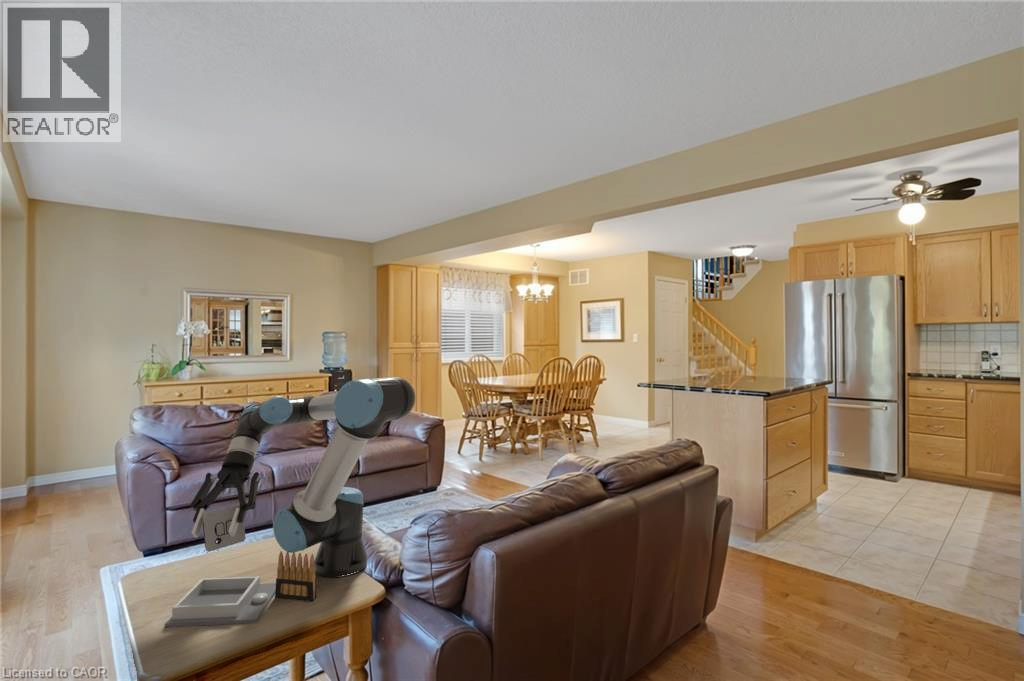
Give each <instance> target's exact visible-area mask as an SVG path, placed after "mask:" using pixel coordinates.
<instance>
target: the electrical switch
mask: <svg viewBox="0 0 1024 681" xmlns="http://www.w3.org/2000/svg"><path fill="white" fill-rule="evenodd" d="M236 508H240V506H239V505H236V506H231V507H227V508H224V509H220V510H216V511H212V512H207V513H206V514H204V515H203V518H202V521H203V526H202V529H203V539H204V548H205V551H207V552H213V551H216V550H220V549H222V548H227V547H229V546H233V545H237V544H239V543H242V542H245V541H246V539H247V538H246V530H245V522H244V520H243V522H242V523H239V524H238V527H237V530H236V534H235V537H231V535H230V534H229V533H228V531H229V528H230V525H231V522H232V519H233V516H234V513H235V510H236Z"/></svg>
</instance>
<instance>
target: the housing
mask: <svg viewBox="0 0 1024 681" xmlns="http://www.w3.org/2000/svg"><path fill="white" fill-rule="evenodd" d="M275 589H276V582H274V583H273V582H272V583H271V582H270V583H261V576H257V575H256V576H234V577H233V576H232V577H206V578H205V577H204V578H200V580H199V581H197V582H196V584H194V585H193V587H192V588H190V590H188V591H187V592H186V593H185V595H184V596H182V598H180V599H179V600H178V601H177V603H175V604H174V606H172V607H171V608H172V609H171V610H172V614H171V617H170V618H169V619H168V620H167V621H166V622H165V623H164V628H171V627H172V628H174V627H192V626H193V627H194V626H195V627H196V626H215V625H216V626H217V625H233V624H235V625H236V624H238V625H239V624H255V623H257V622H258V621H259V619H260V617H261V616H262V614H263V612H264V611H265V610H266V608H267V607H268V605H269V604H270V602H271V601H272V599H273V597H275Z"/></svg>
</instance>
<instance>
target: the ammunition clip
mask: <svg viewBox="0 0 1024 681" xmlns="http://www.w3.org/2000/svg"><path fill="white" fill-rule="evenodd" d="M277 560H278V562H277V564H278V565H277V568H276V572H277V573H276V574H277V576H276V578H275V583H276V589H275V594H274V598H275V599H282V600H293V601H298V602H299V601H302V602H309V603H310V602H311V603H312V602H314V601H315V600H316V599H317V578H316V572H315V556H314V554H313V553H312V554H311V555H310V558H309V555H308V553H305V555H303V557H302V553H301V552H299V553H298V555H297V556H296V552H295V553H294V552H293V553H291V559H290V553H289V552H286V553H285V556H284V555H283V551H282V550H280V551H279V554H278V559H277Z"/></svg>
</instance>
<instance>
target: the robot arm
mask: <svg viewBox="0 0 1024 681" xmlns="http://www.w3.org/2000/svg"><path fill="white" fill-rule="evenodd" d="M415 404H416V392H415V389H414V388H413V386H412V385H411V383H410V382H408V380H406V379H404V378H402V377H398V376H388V377H386V376H385V377H374V378H368V377H367V378H366V377H363V378H359V379H355V380H354V379H353V380H350V381H348V382H347V383H345V384H343V385H342V386H341V387H340V388H339V390H338V391H337V392H336V393H330V394H323V395H317V396H316V395H315V396H309V397H301V398H293V399H288V398H286V397H283V396H281V395H275V396H272V397H271V398H269V399H266V400H265V401H264V402H263V403H262V404H260V405H259V406H252V407H247V408H245V409H243V411H242V413H241V414H240V416H239V418H238V420H237V421H238V422H237V423H236V427H235V430H234V433H233V435H232V438H231V442H230V443H229V446H228V448H227V451H226V454H225V457H224V459H223V461H222V464H221V469H220V470H219V471H218V472H217V473H213V474H212V473H211V472H207V473H206V474H205V479H204V481H203V482H202V485H201V486H200V488H199V489H198V491H197V493H196V495H195V496H194V498H193V500H192V501H191V503H190V507H191V509H192V510H193V511H195V514H194V517H193V519H192V522H193V523H194V525H193V528H192V530H191V535H192V536H193V538H197V539H198V538H199V536H200V534H201V531H202V529H203V521H202V518H203V515H204V514H206V513H208V512H207V510H208V508H209V507H210V506H211V505H212V503H214V502H215V500H216V499H217V498H218V497H219V496H220V494H221V493H224V491H225V490H226V489H231V488H232V489H236V491H237V496H238V497H237V498H238V502H239V505H238V506H240V508H236V510H235V513H234V516H233V519H232V522H231V525H230V528H229V531H228V533H229V534H230V535H231V537H235V534H236V530H237V527H238V524H239V523H242V522H243V520H244V519H245V517H246V513H247V511H250V510H255V508H256V504H257V495H258V485H259V482H260V481H261V479H262V477H261V475H260V473H259V472H258V471H255V472H251V471H252V469H253V467H254V463H255V459H256V457H257V454H258V450H259V448H260V446H261V445H260V444H261V441H262V439H263V436H264V435H265V434H267V433H268V432H270V431H271V430H274V428H276V427H283V426H289V425H295V424H301V423H308V422H309V423H310V422H317V421H324V420H333V419H335V423H336V425H337V427H336V429H335V431H334V433H333V435H332V437H331V438H330V441H329V443H328V444H327V446H326V448H325V451H324V452H323V454H322V456H321V458H320V460H319V462H318V464H317V466H316V468H315V470H314V471H313V473H312V475H311V477H310V480H309V481H308V483H307V485H306V488H305V489H303V490H301V491H299V492H298V493H297V494H296V495H295V496H294V497H293V500H292V502H291V504H290V505H289V507H288V508H283V509H281V510H280V511H278V512H277V513H276V514H275V515H274V516H273V521H272V522H273V523H272V530H273V533H274V534H273V535H274V538H275V540H276V542H277V544H278V545H279V546H280V548H281V549H282V550H284V551H285V552H286V553H287V552H288V553H289V554H290V553H291V554H293V552H294V553H295V554H296V553H298V552H301V551H304V550H307V549H309V548H311V547H313V546H315V545H317V544H319V547H318V549H317V552H316V555H315V557H314V561H315V574H317V575H318V576H321V577H326V578H338V577H337V576H342V575H347V574H351V573H354V572H357V571H360V572H362V571H363V570H364V569H366V567H367V566H368V553H367V551H366V547H365V544H364V540H363V519H364V518H363V516H364V495H363V492H362V490H360V489H358V488H355V487H350V486H345V485H346V483H347V481H348V479H349V477H350V475H351V473H352V471H353V469H354V468H355V466H356V464H357V462H358V460H359V459H360V457H361V454H362V453H363V451H364V449H365V447H367V446H366V445H367V444H368V442H369V440H374V439H376V438H377V437H378V436H379V434H380V432H381V431H382V428H383V426H384V425H385V423H387V422H391V421H397V420H400V419H402V418H404V417H406V416H407V415H409V414H410V413H411V411H412V410H413V408H414V407H415ZM217 479H218V481H217V482H216V480H217ZM248 480H250V484H249V492H248V500H247V498H246V493H245V486H244V483H246V482H247V481H248ZM213 484H214V487H213ZM212 487H213V488H212ZM211 488H212V489H211ZM366 565H367V566H366Z"/></svg>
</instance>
